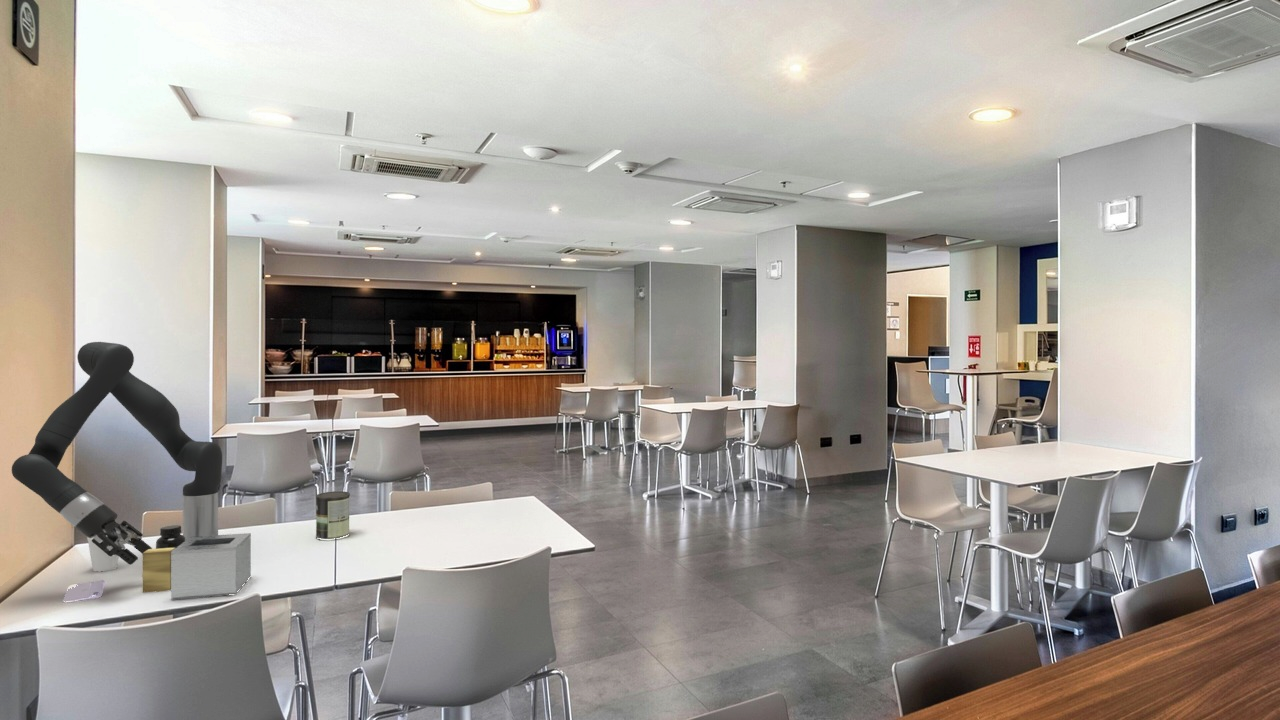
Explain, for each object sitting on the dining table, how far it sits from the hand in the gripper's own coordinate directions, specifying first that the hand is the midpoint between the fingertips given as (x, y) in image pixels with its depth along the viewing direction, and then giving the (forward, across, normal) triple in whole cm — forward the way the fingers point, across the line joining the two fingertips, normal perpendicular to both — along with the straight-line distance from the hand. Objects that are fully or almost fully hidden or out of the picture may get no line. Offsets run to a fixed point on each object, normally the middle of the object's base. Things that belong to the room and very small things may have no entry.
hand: (142, 556), depth 173 cm
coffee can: (+33, +43, -21) cm, 59 cm away
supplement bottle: (+7, +17, +6) cm, 19 cm away
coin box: (+18, -3, -6) cm, 19 cm away
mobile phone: (-3, +3, +16) cm, 17 cm away
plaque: (+9, 0, +3) cm, 9 cm away
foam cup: (-6, +23, +18) cm, 30 cm away
